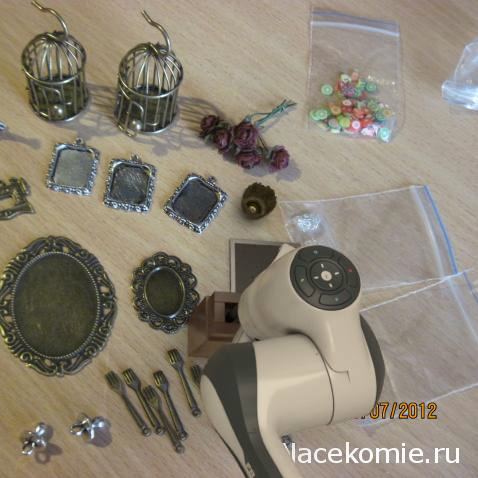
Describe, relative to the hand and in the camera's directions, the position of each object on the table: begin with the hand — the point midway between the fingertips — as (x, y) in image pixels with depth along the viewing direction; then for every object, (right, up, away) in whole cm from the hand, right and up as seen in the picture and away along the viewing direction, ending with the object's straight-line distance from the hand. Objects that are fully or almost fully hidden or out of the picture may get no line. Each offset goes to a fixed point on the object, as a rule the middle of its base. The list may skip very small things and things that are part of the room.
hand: (247, 329), depth 81 cm
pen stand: (-3, -7, +33) cm, 34 cm away
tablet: (+10, +2, +38) cm, 40 cm away
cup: (+8, +19, +44) cm, 49 cm away
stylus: (-1, -1, +15) cm, 15 cm away
